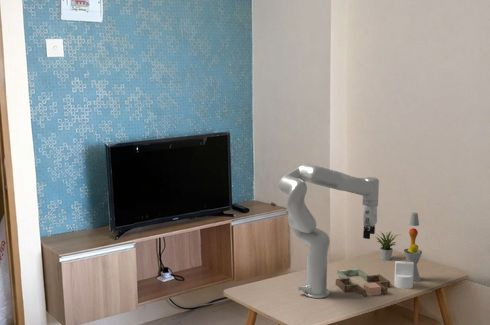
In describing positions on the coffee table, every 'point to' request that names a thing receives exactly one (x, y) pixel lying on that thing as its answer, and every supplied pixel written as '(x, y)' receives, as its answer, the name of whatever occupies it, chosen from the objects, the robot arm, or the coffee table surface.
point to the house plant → (386, 246)
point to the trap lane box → (347, 287)
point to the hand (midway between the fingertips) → (368, 236)
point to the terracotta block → (372, 289)
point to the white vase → (403, 274)
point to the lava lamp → (413, 247)
